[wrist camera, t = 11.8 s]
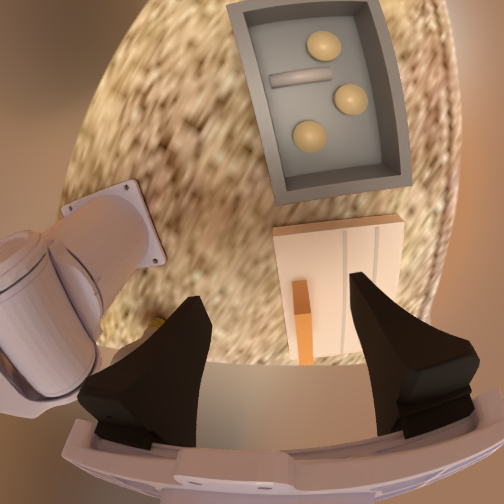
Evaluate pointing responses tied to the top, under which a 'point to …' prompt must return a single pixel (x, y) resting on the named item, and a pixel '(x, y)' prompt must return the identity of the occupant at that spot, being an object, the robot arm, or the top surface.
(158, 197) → the top surface
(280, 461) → the robot arm
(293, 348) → the lid
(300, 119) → the tub
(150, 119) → the top surface
